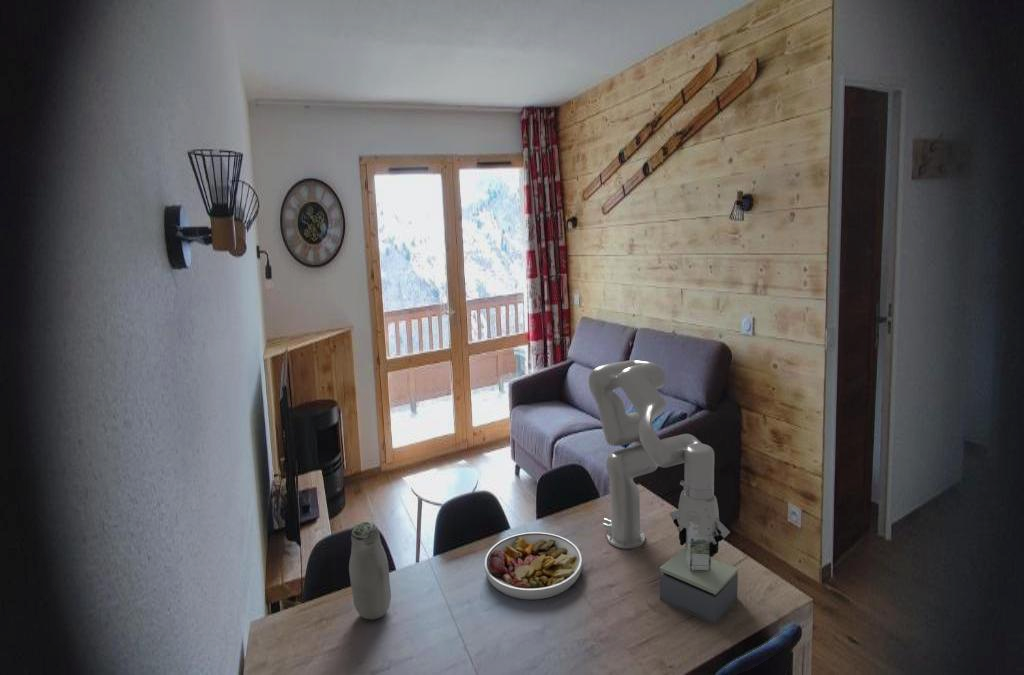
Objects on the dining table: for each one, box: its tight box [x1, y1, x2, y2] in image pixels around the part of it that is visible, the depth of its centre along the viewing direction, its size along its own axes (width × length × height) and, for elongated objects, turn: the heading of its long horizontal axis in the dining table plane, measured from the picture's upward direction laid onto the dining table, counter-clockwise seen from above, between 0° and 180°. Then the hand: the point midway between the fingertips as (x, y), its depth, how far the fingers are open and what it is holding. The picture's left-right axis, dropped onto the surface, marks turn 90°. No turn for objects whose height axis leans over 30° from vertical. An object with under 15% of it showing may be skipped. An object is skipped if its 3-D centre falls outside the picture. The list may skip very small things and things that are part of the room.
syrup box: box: [684, 521, 712, 571], centre depth 151 cm, size 6×6×14 cm
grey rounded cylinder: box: [348, 521, 392, 620], centre depth 153 cm, size 10×10×28 cm
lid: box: [659, 547, 739, 595], centre depth 152 cm, size 16×14×1 cm
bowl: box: [483, 531, 583, 600], centre depth 170 cm, size 30×30×8 cm
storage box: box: [659, 571, 739, 626], centre depth 153 cm, size 16×14×8 cm
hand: (698, 548), depth 151 cm, fingers closed on syrup box, 8 cm apart
